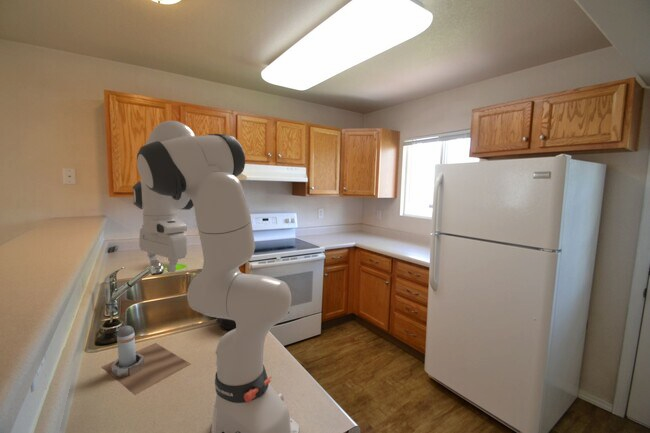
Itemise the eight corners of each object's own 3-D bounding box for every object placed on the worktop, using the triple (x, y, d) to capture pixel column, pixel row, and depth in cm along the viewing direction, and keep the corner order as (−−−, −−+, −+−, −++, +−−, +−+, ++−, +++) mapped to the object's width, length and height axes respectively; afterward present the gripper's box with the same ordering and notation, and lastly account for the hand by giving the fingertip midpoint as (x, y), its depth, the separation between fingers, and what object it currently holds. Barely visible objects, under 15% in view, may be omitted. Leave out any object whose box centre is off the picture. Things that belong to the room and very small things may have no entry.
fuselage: (139, 367, 95) (136, 325, 93) (123, 375, 91) (120, 331, 89) (132, 362, 97) (129, 321, 95) (116, 369, 93) (113, 327, 91)
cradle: (148, 366, 95) (148, 359, 95) (120, 380, 88) (119, 372, 88) (136, 357, 100) (135, 350, 99) (108, 370, 93) (107, 363, 93)
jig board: (191, 366, 97) (191, 364, 97) (135, 398, 83) (135, 394, 83) (155, 345, 109) (155, 342, 109) (101, 369, 95) (101, 366, 95)
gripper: (132, 221, 91) (134, 265, 92) (168, 228, 80) (171, 278, 81) (153, 219, 96) (155, 261, 98) (190, 225, 85) (192, 272, 87)
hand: (162, 268), depth 90 cm, fingers open, 8 cm apart
